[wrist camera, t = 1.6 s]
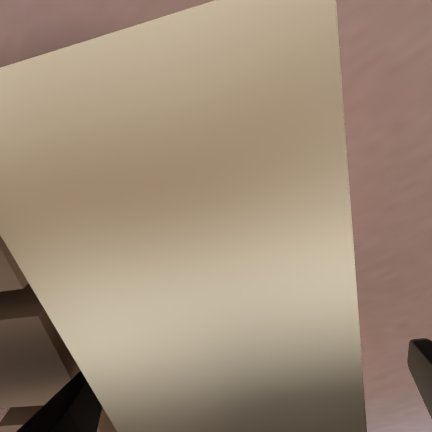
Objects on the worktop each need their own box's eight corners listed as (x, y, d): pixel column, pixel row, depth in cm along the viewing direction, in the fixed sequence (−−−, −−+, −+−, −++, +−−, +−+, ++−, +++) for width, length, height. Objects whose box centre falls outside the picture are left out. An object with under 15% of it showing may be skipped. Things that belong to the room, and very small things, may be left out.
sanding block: (324, 407, 14) (379, 603, 9) (224, 417, 15) (219, 604, 10) (268, 43, 8) (332, -36, 3) (107, 88, 9) (-84, 93, 4)
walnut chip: (145, 408, 15) (126, 479, 12) (74, 414, 16) (40, 483, 13) (121, 352, 14) (92, 419, 11) (43, 360, 14) (-3, 426, 11)
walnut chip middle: (114, 337, 13) (83, 402, 11) (34, 345, 14) (-16, 409, 11) (83, 262, 12) (37, 315, 9) (-6, 273, 12) (-76, 328, 9)
